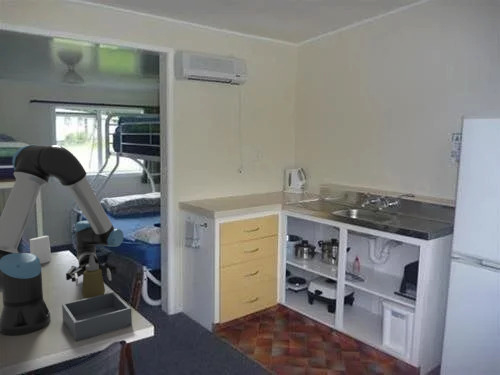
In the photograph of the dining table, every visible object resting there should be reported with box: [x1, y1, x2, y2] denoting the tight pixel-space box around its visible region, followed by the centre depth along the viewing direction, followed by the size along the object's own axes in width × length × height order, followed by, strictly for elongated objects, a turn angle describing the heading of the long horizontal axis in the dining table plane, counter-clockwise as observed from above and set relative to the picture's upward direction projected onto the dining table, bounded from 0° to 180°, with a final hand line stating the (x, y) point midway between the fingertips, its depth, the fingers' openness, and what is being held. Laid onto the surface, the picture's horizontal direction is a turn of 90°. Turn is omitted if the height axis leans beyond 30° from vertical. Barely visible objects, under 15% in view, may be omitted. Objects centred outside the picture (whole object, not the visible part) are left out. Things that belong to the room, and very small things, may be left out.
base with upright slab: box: [29, 235, 52, 265], centre depth 207 cm, size 9×9×12 cm
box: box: [61, 291, 133, 342], centre depth 138 cm, size 18×18×6 cm
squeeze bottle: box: [81, 255, 106, 299], centre depth 156 cm, size 8×8×18 cm
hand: (93, 279), depth 152 cm, fingers open, 11 cm apart
